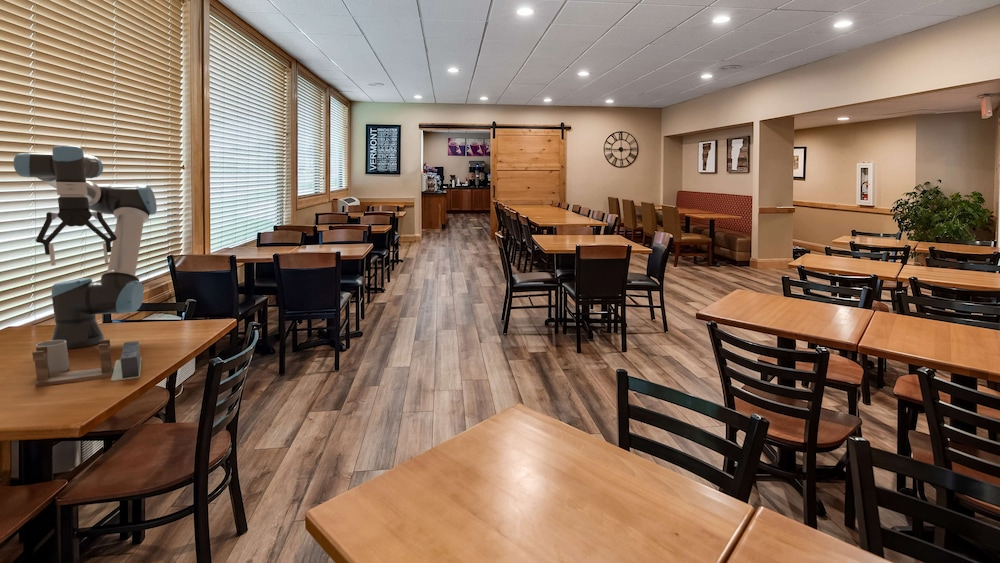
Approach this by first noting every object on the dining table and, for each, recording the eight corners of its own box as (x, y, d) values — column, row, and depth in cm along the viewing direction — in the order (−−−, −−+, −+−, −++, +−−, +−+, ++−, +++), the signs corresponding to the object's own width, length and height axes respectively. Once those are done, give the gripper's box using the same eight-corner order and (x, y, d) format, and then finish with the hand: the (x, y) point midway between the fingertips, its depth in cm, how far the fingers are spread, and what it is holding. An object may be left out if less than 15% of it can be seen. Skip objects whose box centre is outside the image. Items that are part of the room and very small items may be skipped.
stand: (40, 378, 161) (36, 346, 160) (113, 369, 170) (110, 338, 169) (35, 386, 155) (31, 353, 153) (111, 376, 164) (108, 344, 162)
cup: (44, 376, 163) (40, 347, 162) (32, 370, 169) (28, 342, 167) (73, 370, 169) (70, 342, 168) (61, 364, 175) (57, 337, 173)
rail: (122, 378, 161) (120, 358, 160) (125, 360, 178) (123, 342, 177) (138, 376, 163) (136, 356, 162) (140, 358, 180) (138, 341, 179)
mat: (116, 361, 178) (116, 360, 178) (141, 358, 182) (141, 357, 182) (111, 381, 160) (110, 380, 160) (139, 377, 163) (139, 376, 163)
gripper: (18, 196, 161) (27, 267, 165) (120, 196, 174) (127, 262, 178) (23, 196, 168) (32, 264, 171) (121, 196, 181) (128, 260, 184)
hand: (80, 263), depth 174 cm, fingers open, 13 cm apart
